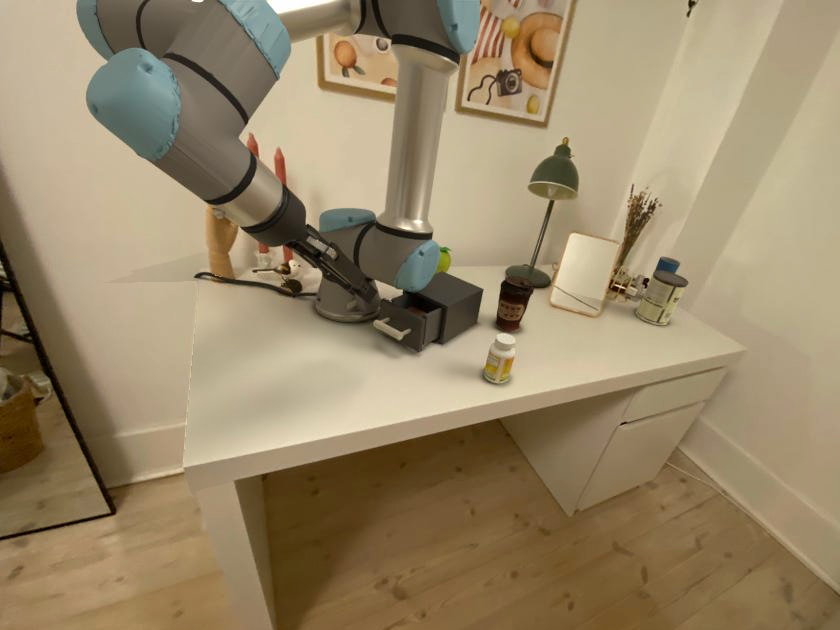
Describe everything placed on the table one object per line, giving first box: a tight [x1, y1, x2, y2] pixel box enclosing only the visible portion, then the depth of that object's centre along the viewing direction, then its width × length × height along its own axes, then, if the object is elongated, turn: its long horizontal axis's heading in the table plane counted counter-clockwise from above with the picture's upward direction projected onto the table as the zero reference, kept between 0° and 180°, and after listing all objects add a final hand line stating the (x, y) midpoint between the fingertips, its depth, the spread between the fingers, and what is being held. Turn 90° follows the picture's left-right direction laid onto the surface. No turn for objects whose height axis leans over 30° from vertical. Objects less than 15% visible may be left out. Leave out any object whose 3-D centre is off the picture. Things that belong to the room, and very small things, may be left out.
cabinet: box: [402, 271, 484, 345], centre depth 91 cm, size 15×13×10 cm
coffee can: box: [635, 270, 689, 326], centre depth 117 cm, size 10×10×14 cm
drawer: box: [372, 292, 444, 354], centre depth 84 cm, size 18×12×8 cm, turn 147°
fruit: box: [435, 246, 453, 274], centre depth 115 cm, size 9×9×10 cm
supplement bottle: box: [483, 332, 516, 384], centre depth 77 cm, size 5×5×10 cm
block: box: [407, 306, 427, 318], centre depth 84 cm, size 4×4×4 cm
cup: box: [654, 256, 681, 274], centre depth 130 cm, size 7×7×15 cm
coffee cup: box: [495, 275, 535, 332], centre depth 95 cm, size 9×8×13 cm
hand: (363, 292), depth 67 cm, fingers open, 3 cm apart
